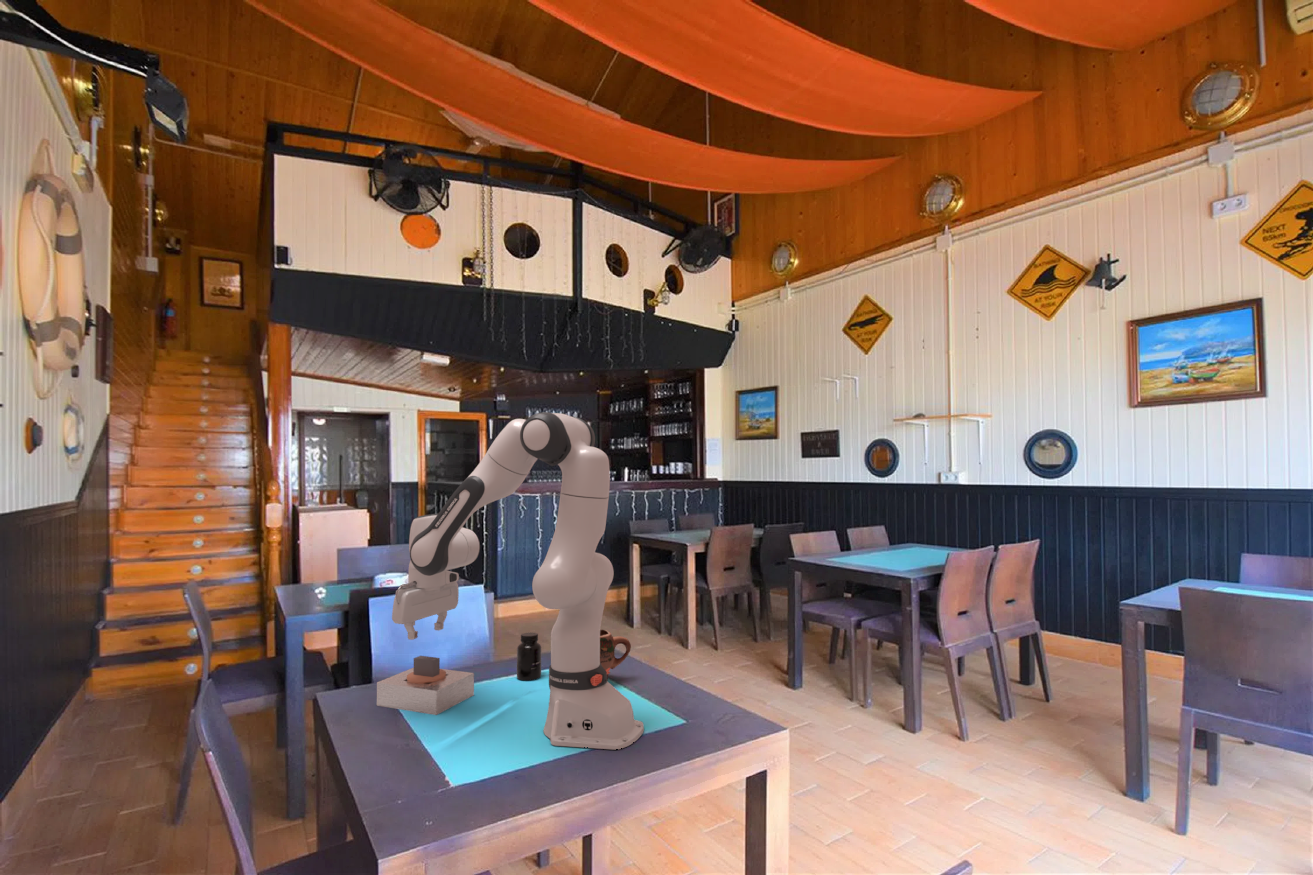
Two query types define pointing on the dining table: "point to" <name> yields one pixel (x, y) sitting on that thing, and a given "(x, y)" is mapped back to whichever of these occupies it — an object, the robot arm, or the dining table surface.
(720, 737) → the dining table surface
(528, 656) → the supplement bottle
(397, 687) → the housing
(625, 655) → the brown ceramic cup shape
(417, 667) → the end cover
